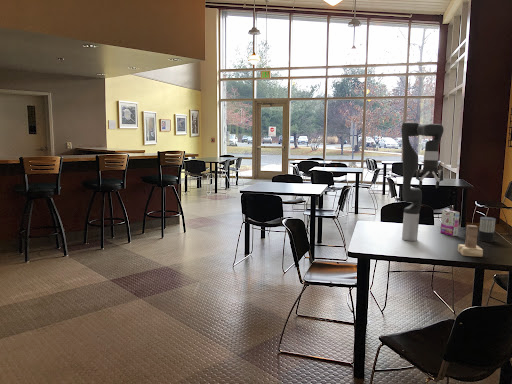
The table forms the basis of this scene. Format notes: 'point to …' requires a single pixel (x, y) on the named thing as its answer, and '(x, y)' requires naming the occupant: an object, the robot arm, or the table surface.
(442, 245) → the table surface
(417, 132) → the robot arm
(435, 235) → the table surface
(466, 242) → the walnut block
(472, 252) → the pedestal
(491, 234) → the milk frother
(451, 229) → the candy bar box
